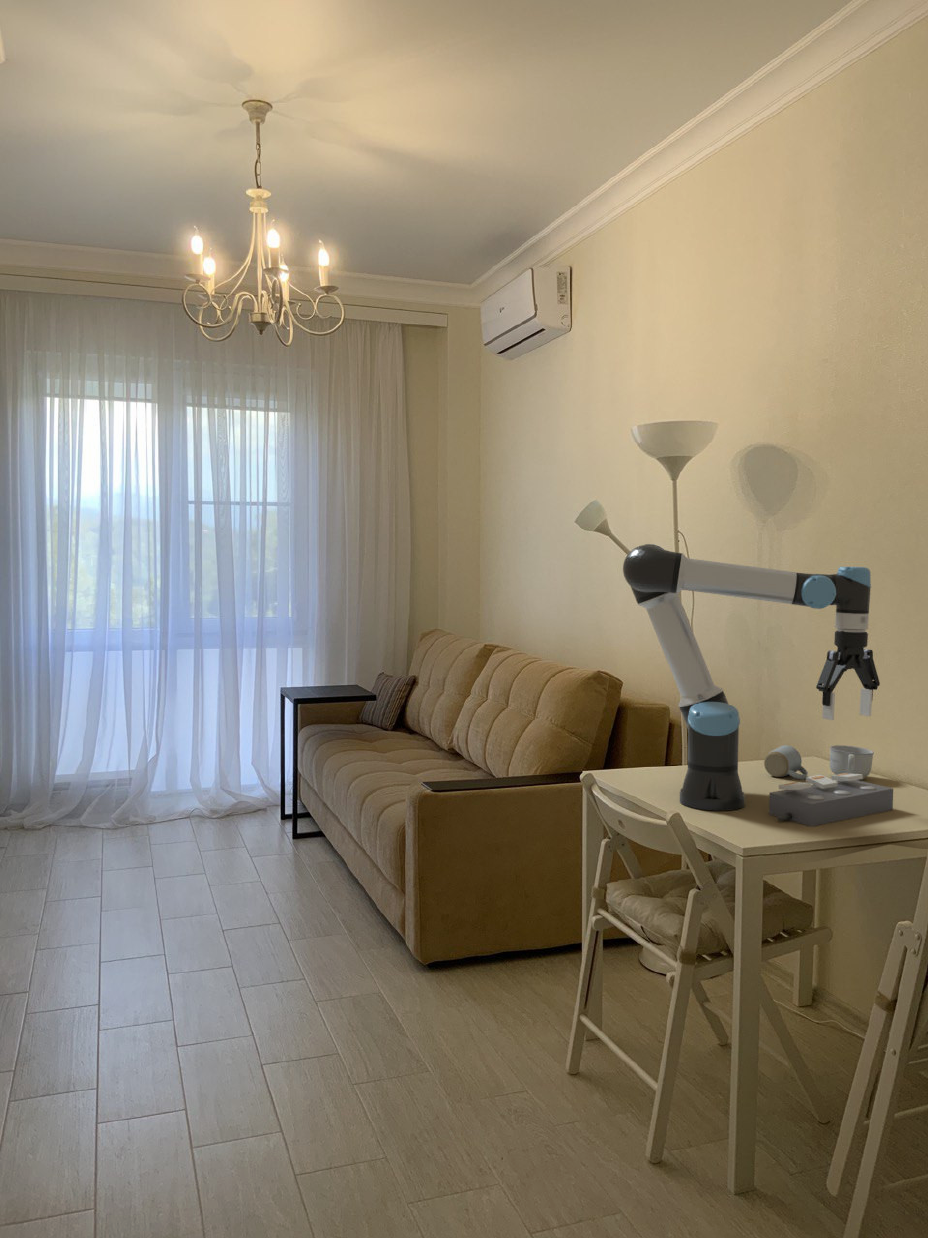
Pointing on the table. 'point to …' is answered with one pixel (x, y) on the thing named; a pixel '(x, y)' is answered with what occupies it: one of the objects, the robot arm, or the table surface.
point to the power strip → (830, 802)
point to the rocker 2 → (821, 781)
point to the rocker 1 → (794, 786)
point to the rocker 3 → (847, 777)
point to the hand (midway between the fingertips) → (846, 717)
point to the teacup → (850, 760)
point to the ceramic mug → (785, 763)
